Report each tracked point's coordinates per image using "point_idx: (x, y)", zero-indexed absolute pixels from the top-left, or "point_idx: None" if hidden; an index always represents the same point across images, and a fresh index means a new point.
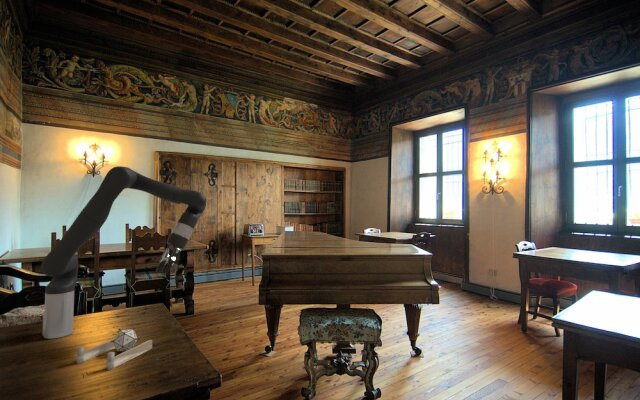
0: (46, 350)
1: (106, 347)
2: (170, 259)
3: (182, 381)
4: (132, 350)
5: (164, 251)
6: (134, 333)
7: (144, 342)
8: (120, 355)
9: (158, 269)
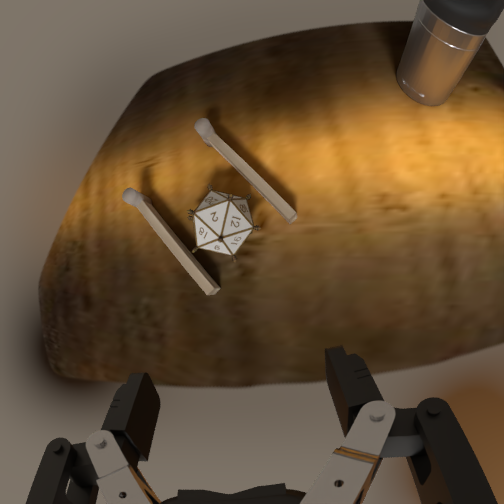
0: (324, 72)
1: (249, 181)
2: (47, 454)
3: (51, 323)
4: (164, 242)
5: (476, 499)
6: (209, 243)
7: (199, 273)
8: (145, 217)
9: (330, 369)
